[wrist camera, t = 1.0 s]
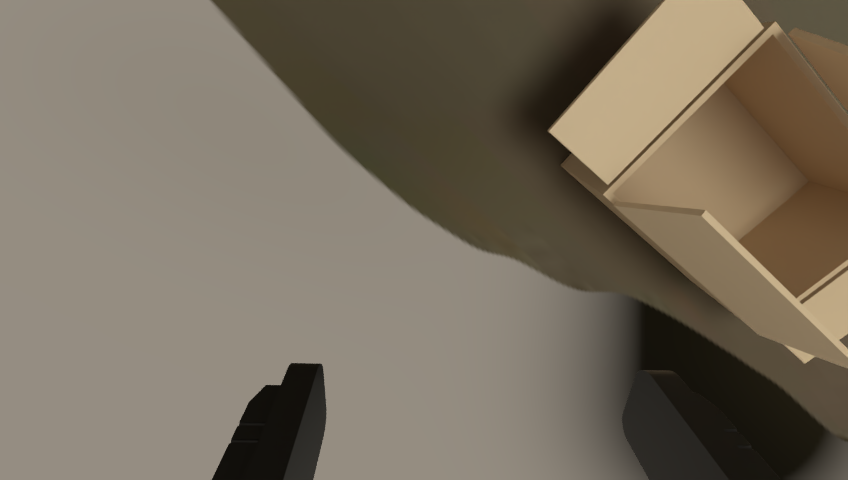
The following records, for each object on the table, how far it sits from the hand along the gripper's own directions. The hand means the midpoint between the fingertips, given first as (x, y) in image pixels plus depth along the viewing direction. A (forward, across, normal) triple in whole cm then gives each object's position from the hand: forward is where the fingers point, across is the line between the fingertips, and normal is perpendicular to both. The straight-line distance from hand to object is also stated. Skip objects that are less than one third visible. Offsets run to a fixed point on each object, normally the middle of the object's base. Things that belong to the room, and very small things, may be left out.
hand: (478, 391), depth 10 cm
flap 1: (+15, -21, +5) cm, 26 cm away
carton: (+28, -24, +1) cm, 37 cm away
